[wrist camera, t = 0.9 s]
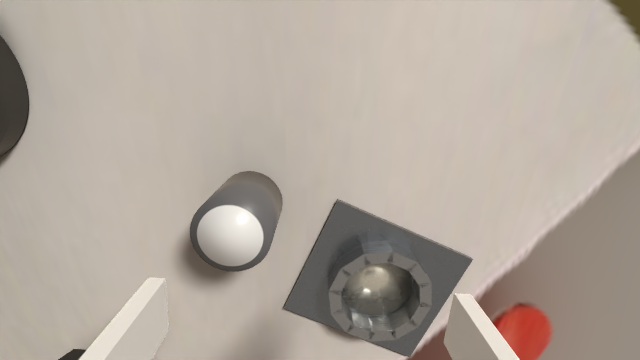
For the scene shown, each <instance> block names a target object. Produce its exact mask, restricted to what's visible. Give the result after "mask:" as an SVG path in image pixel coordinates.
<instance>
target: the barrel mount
mask: <svg viewBox="0 0 640 360" xmlns="http://www.w3.org/2000/svg"><path fill="white" fill-rule="evenodd" d="M472 260H473V259H472V258H471V257H469V256H467V255H464V254H462V253H460V252H458V251H455V250H453V249H451V248H448V247H446V246H444V245H441V244H439V243H437V242H435V241H432V240H430V239H428V238H425V237H423V236H421V235H419V234H416V233H414V232H412V231H409V230H407V229H405V228H403V227H400V226H398V225H396V224H393V223H391V222H389V221H386V220H384V219H382V218H380V217H377V216H375V215H373V214H370V213H368V212H366V211H364V210H361V209H359V208H357V207H354V206H352V205H350V204H348V203H345V202H343V201H341V200H338V199H337V201H336V203H335V205H334V207H333V209H332V212H331V214H330V216H329V218H328V220H327V222H326V224H325V226H324V228H323V230H322V232H321V234H320V236H319V238H318V240H317V242H316V244H315V246H314V248H313V250H312V252H311V254H310V256H309V258H308V260H307V262H306V264H305V266H304V268H303V270H302V272H301V274H300V276H299V278H298V280H297V282H296V284H295V286H294V288H293V290H292V292H291V294H290V296H289V298H288V300H287V302H286V304H285V306H284V309H286V310H289V311H292V312H294V313H297V314H299V315H302V316H305V317H307V318H310V319H312V320H315V321H318V322H320V323H323V324H325V325H328V326H330V327H333V328H336V329H338V330H341V331H343V332H346V333H348V334H350V335H353V336H356V337H358V338H361V339H363V340H366V341H368V342H372V343H375V344H377V345H380V346H382V347H385V348H387V349H390V350H393V351H395V352H398V353H400V354H403V355H406V356H408V357H410V356H411V354H412V353H413V351H414V350H415V348H416V346H417V345H418V343H419V342H420V340H421V339H422V337H423V336H424V334H425V333H426V331H427V329H428V328H429V326H430V325H431V323H432V322H433V320H434V319H435V317H436V316H437V314H438V313H439V311H440V309H441V308H442V306H443V305H444V303H445V302H446V300H447V299H448V297H449V296H450V294H451V292H452V291H453V289H454V288H455V286H456V285H457V283H458V282H459V280H460V279H461V277H462V275H463V274H464V272H465V271H466V269H467V268H468V266H469V265H470V263H471V262H472Z"/></svg>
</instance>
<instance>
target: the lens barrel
mask: <svg viewBox="0 0 640 360" xmlns="http://www.w3.org/2000/svg"><path fill="white" fill-rule="evenodd" d="M281 210H282V195H281V192H280V190H279V188H278V187H277V185H276V184H275V183H274V182H273V181H272V180H271V179H270V178H269V177H267V176H265V175H263V174H261V173H258V172H252V171H246V172H241V173H238V174H235V175H233V176H232V177H230V178H229V179H228V180H227V181H226V182H225V183H224V184H223V185H222V186H221V187H220V188H219V189H218V190H217V191H216V192H215V193H214V194H213V195H212V196H211V197H210V198H209V199H208V200H207V201H206V202H205V203H204V204H203V205H202V206H201V207H200V208H199V209H198V210H197V212H196V213H195V215H194V217H193V219H192V222H191V226H190V237H191V241H192V244H193V247H194V249H195V250H196V252H197V253H198V255H199V256H200V257H201V258H202V259H203V260H204V261H205V262H207V263H208V264H210V265H211V266H213V267H215V268H218V269H221V270H225V271H243V270H247V269H249V268H252V267H254V266H255V265H257V264H258V263H260V262H261V261H262V260H263V259H264V257H265V256H266V255H267V253H268V251H269V249H270V246H271V243H272V240H273V236H274V233H275V230H276V227H277V223H278V220H279V217H280V213H281Z"/></svg>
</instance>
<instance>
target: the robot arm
mask: <svg viewBox="0 0 640 360" xmlns="http://www.w3.org/2000/svg"><path fill="white" fill-rule="evenodd" d="M27 115H28V92H27V87H26V82H25V79H24V76H23V73H22V70H21V68H20V65H19V63H18V61H17V59H16V57H15V56H14V54H13V52H12V51H11V49H10V48H9V46H8V45H7V43H6V42H5V41H4V39H3V38H2V37H1V36H0V156H1V155H3V154H5V153H6V152H7V151H8V150H10V149H11V148H12V147H13V146H14V144H15V143H16V142H17V141H18V139H19V138H20V136H21V134H22V132H23V130H24V127H25V124H26V120H27ZM168 331H169V319H168V304H167V290H166V278H148V279H147V280H146V281H145V282H144V283H143V284H142V286H141V287H140V288H139V289H138V290H137V291H136V293H135V294H134V295H133V296H132V297H131V299H130V300H129V301H128V302H127V303H126V304H125V306H124V307H123V308H122V309H121V310H120V311H119V313H118V314H117V315H116V316H115V317H114V319H113V320H112V321H111V322H110V323H109V324H108V326H107V327H106V328H105V329H104V330H103V331H102V333H101V334H100V335H99V336H98V337H97V339H96V340H95V341H94V342H93V343H92V344H91V346H90V347H89V348H88V349H87V350H82V349H73V350H72V351H70V352H69V353H67V354H66V355H64V356H63V357H62V358H60V359H59V360H152V358H153V357H154V355H155V353H156V352H157V350H158V348H159V346H160V345H161V343H162V341H163V340H164V338H165V336H166V334H167V333H168ZM444 344H445V346H446V348H447V350H448V352H449V353H450V356H451V358H452V360H520V359H519V358H518V357H517V355H516V354H515V353H514V351H513V350H512V349H511V347H510V346H509V345H508V343H507V342H506V341H505V339H504V338H503V337H502V335H501V334H500V333H499V331H498V330H497V329H496V327H495V326H494V325H493V323H492V322H491V321H490V319H489V318H488V317H487V315H486V314H485V313H484V312H483V310H482V309H481V307H480V306H479V305H478V303H477V302H476V301H475V299H474V298H473V297H472V295H471V294H460V293H454V297H453V301H452V306H451V310H450V315H449V320H448V324H447V329H446V334H445V338H444Z"/></svg>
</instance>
